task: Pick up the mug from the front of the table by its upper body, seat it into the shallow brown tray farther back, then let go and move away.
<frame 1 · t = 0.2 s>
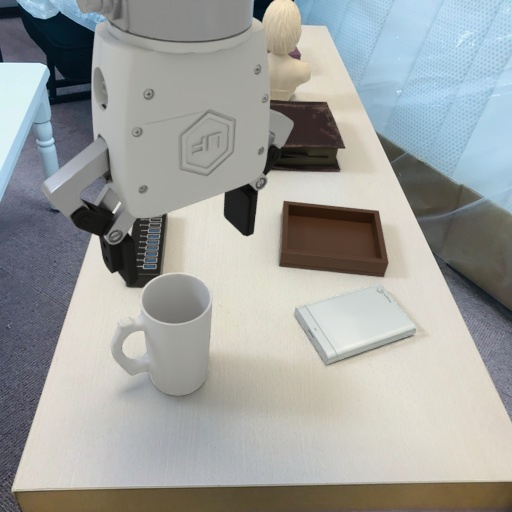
hand: (184, 247, 37), 22 cm above the table, tool pointing down, fingers open, 9 cm apart
shallow brown tray: (329, 243, 74), on the table
mug: (165, 377, 55), on the table
figurine: (273, 101, 106), on the table
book: (238, 61, 120), on the table
multiport hub: (148, 250, 70), on the table
hard drive: (353, 325, 63), on the table
diary: (263, 145, 93), on the table
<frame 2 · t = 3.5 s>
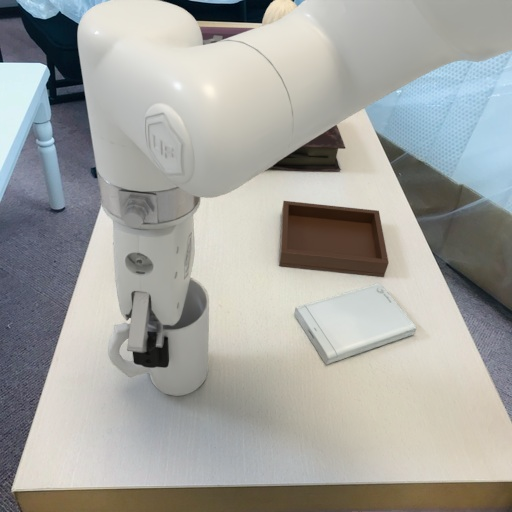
hand: (160, 330, 50), 7 cm above the table, tool pointing down, fingers closed on mug, 6 cm apart
mug: (165, 376, 55), on the table, touching gripper
everything else where it was.
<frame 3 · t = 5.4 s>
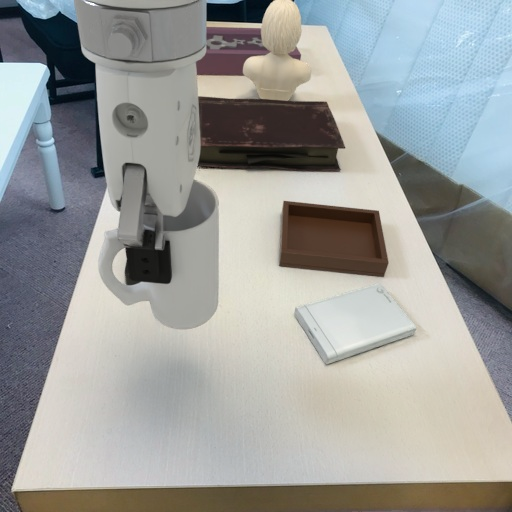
hand: (161, 246, 42), 19 cm above the table, tool pointing down, fingers closed on mug, 6 cm apart
mug: (168, 310, 47), point 11 cm above the table, touching gripper
everything else where it was.
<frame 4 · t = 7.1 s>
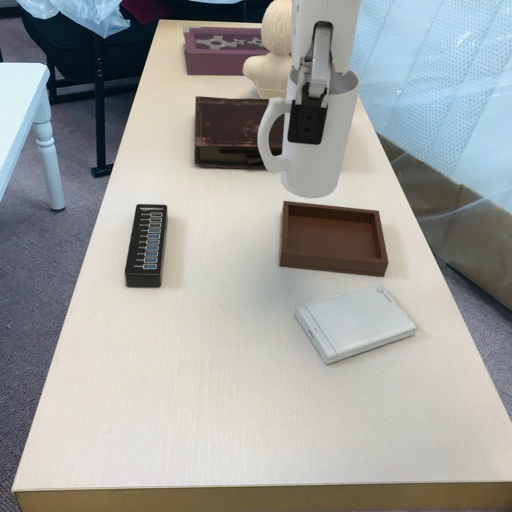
hand: (303, 121, 50), 24 cm above the table, tool pointing down, fingers closed on mug, 6 cm apart
mug: (295, 186, 55), point 16 cm above the table, touching gripper
everything else where it was.
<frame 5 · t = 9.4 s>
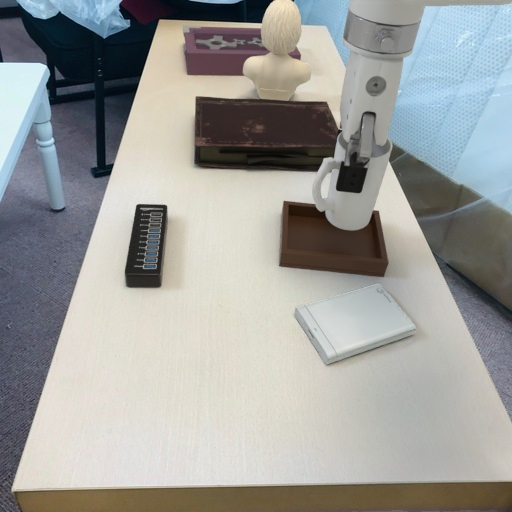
hand: (346, 173, 65), 12 cm above the table, tool pointing down, fingers closed on mug, 6 cm apart
mug: (337, 220, 70), point 5 cm above the table, touching gripper
everything else where it was.
when the fingers open (8 cm above the table, at t = 11.0 s): mug stays where it is, resting on shallow brown tray.
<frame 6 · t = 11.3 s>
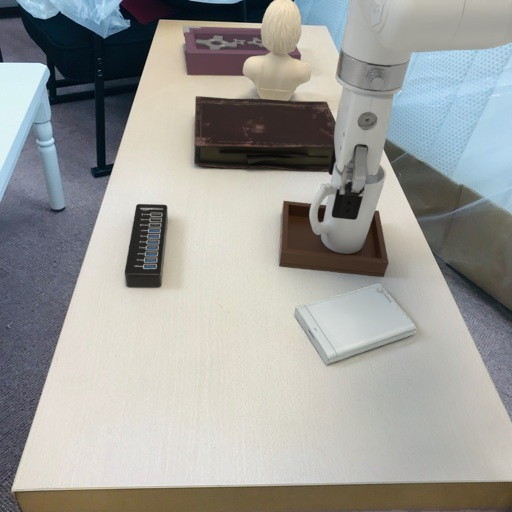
hand: (341, 195, 68), 9 cm above the table, tool pointing down, fingers open, 9 cm apart
mug: (332, 243, 73), resting on shallow brown tray
everything else where it was.
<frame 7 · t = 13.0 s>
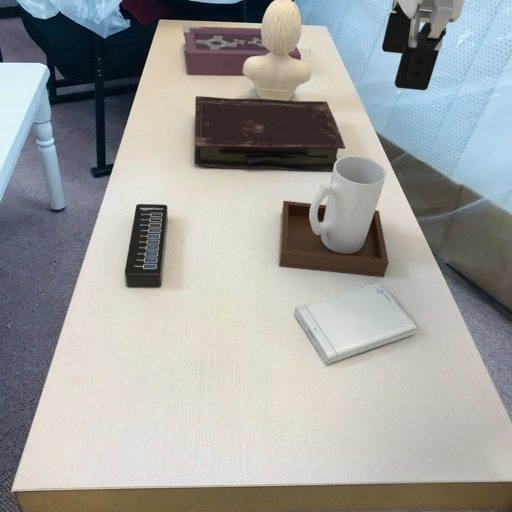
hand: (402, 68, 54), 27 cm above the table, tool pointing down, fingers open, 9 cm apart
nothing on the table moved.
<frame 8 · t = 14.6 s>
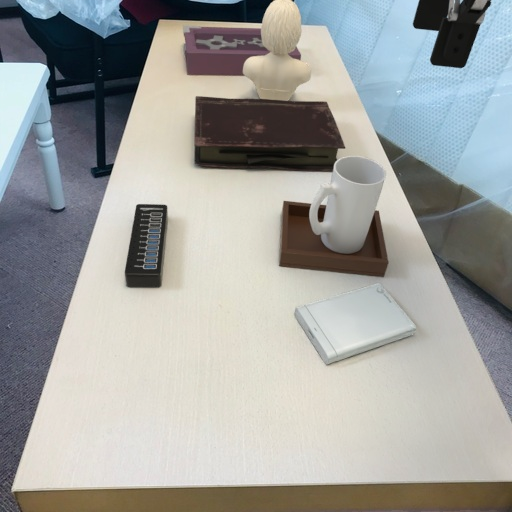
hand: (436, 46, 50), 30 cm above the table, tool pointing down, fingers open, 9 cm apart
nothing on the table moved.
at the end: mug 0.5 cm off-centre in the shallow brown tray, point 0.4 cm above the shallow brown tray's base; mug tilted 0°; the gripper is holding nothing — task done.
